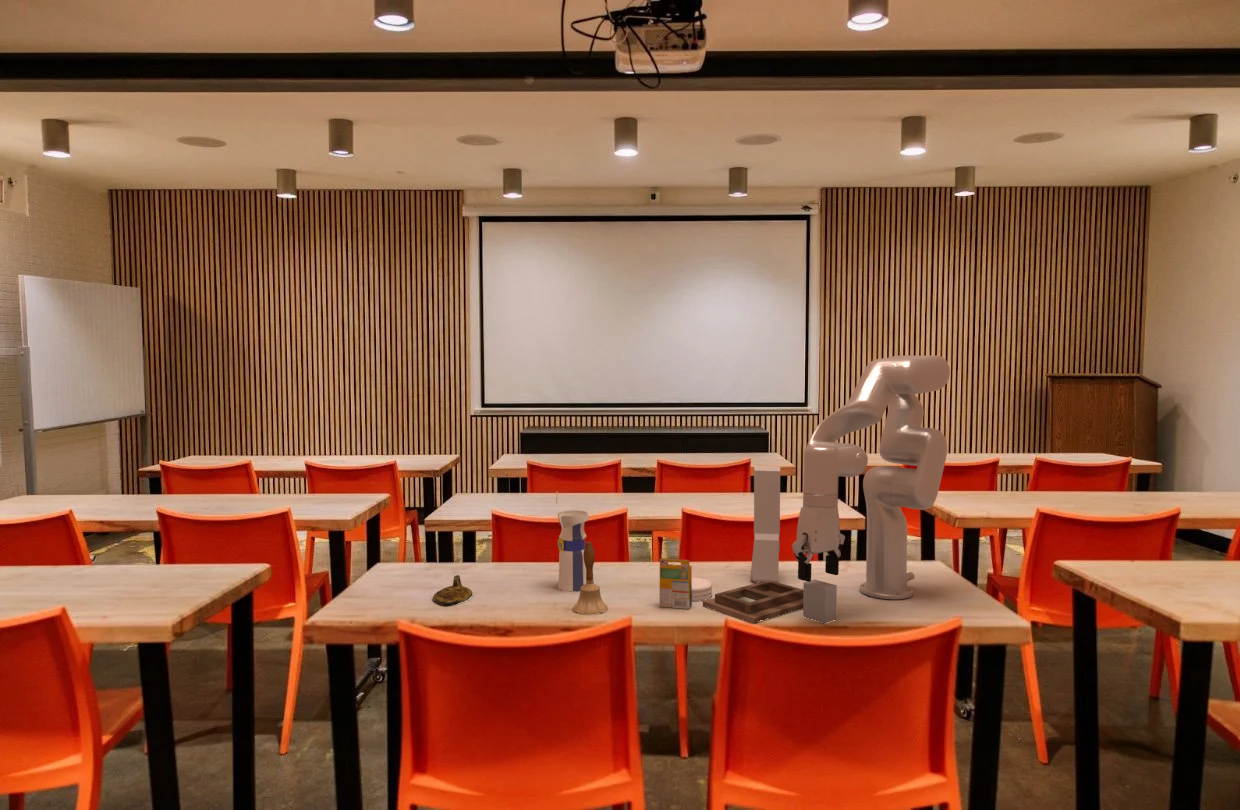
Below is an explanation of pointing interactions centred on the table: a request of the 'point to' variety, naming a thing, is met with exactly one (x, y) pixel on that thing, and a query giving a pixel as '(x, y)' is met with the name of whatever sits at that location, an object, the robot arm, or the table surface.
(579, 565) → the water bottle
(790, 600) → the tray
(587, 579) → the hand bell
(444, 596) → the seal
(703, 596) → the white round stack
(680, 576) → the crayon box
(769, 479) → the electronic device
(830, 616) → the grey block
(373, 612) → the table surface
